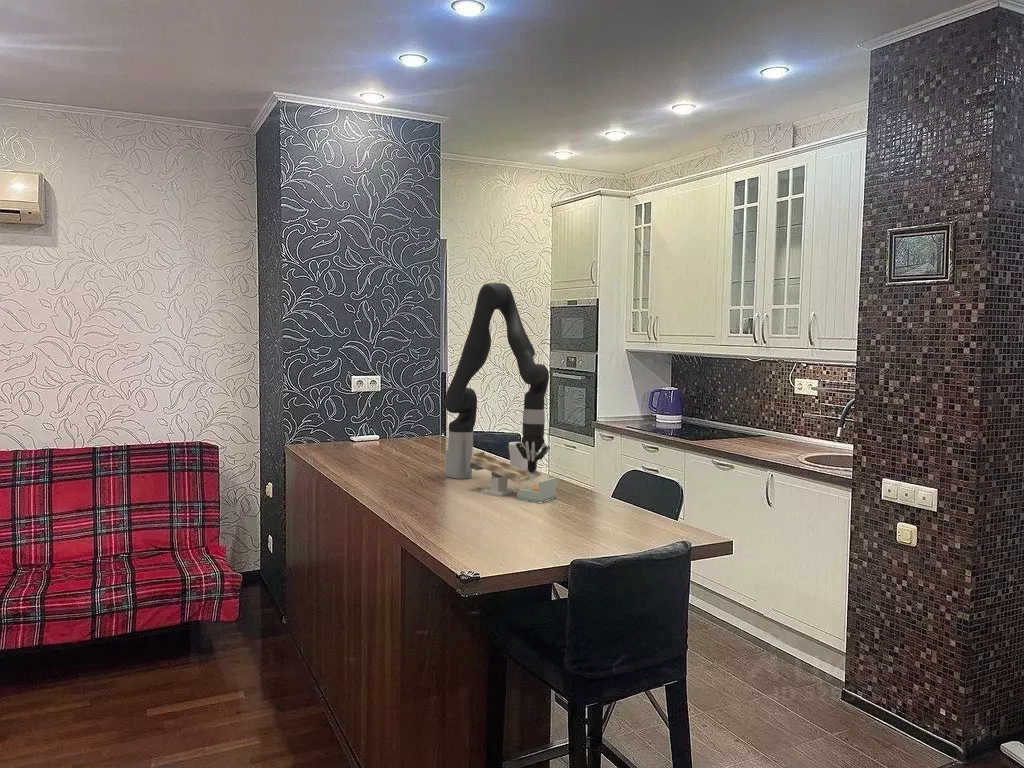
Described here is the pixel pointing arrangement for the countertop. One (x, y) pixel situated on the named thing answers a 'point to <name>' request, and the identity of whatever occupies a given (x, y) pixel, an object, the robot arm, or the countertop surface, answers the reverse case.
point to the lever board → (500, 468)
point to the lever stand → (498, 486)
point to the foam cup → (517, 457)
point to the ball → (536, 488)
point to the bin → (545, 491)
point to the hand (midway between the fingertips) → (532, 471)
